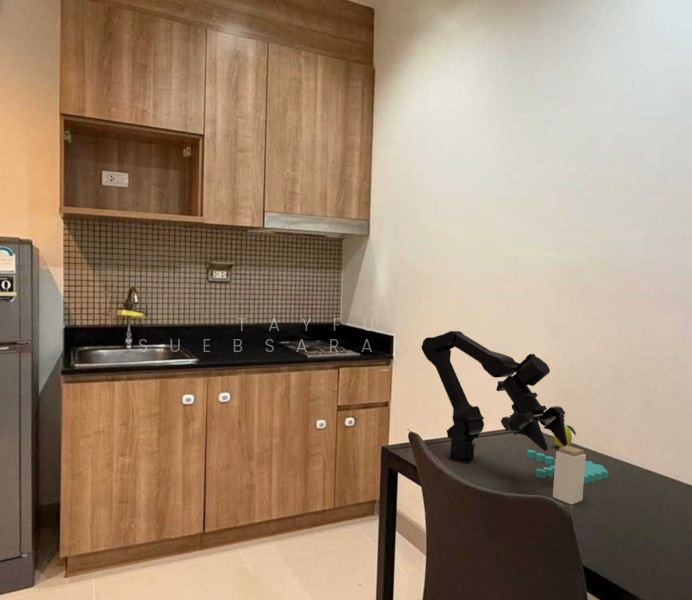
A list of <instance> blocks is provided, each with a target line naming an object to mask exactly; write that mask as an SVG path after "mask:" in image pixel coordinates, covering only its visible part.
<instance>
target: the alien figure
mask: <svg viewBox="0 0 692 600" xmlns="http://www.w3.org/2000/svg"><path fill="white" fill-rule="evenodd" d="M526 456H527V458H531V459H535V461H537V462H543V463H544V464H545V465H549V467H547V466H543V467H542V468H537V467H536V468H535V477H536V478H540V479H546V477H552V478H553V477H554V476H553V475H554V473H555V460H556V458H554V457H553V456H549V455H545V453H542V452H541V453H540V452H536V451H535V450H533V449H527V451H526ZM603 479H609V471H608V470H607V469H606V468H605V467H604V466H603V464H598V463H594V462H593V461H589V460H585V472H584V484H586V485H589V483H590V482H591V483H596V481H602V480H603Z"/></svg>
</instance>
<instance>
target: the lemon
mask: <svg viewBox="0 0 692 600" xmlns="http://www.w3.org/2000/svg"><path fill="white" fill-rule="evenodd" d="M564 422H565V418H564ZM565 432H566V438H567V443H568V444H567V445H566V446H570V445H571V444H572V439H573V436H572V434H573V435H575V436H577V433H576V431H575V429H574V427H572V426H570V425H567V424H565ZM553 442H554V443H555V445H556V446H558V447H559V448H561V447H565V446H563V445H562V444H561V442H560V441H559V440H558V439H557V438H556V436H555V435H554V434H553Z"/></svg>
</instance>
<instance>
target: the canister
mask: <svg viewBox="0 0 692 600" xmlns="http://www.w3.org/2000/svg"><path fill="white" fill-rule="evenodd" d="M586 457H587V454H585V452H584V450H583V449H581V448H577V447H573V446H570V445H569V446H565V447H561V448H560V447H559V448H558V451H557V450H556V452H555V459H556V460H555V473H554V474H553V475H554V476H553V477H554V478H553V489H552V498H553V499H557V500H559V501H562V502H564V503H566V504H570V505H574V504H577V503H579V502H582V501H583V496H584V484H585V483H584V472H585V461H586Z"/></svg>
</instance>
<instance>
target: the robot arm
mask: <svg viewBox="0 0 692 600" xmlns="http://www.w3.org/2000/svg"><path fill="white" fill-rule="evenodd" d="M454 348H457V349H458V350H459V351H461V352H463V353H464V354H466V355H467V356H469V357H470V358H472V359H474V360H475V361H477V362H478V363H479V364H480V365H481V367H482V369H483V370H485V372H486V373H488V375H490V376H491V377H492V378H494V379H495V378H496V379H497V378H505V379H503V380H500V381H499V380H498V381H497V386H496V391H497V392H503V391H504V392H506V394H507V396H508V397H509V399H510V400H511V403H513V404H512V405H510V406H511V409H512V411H513V413H512V414H510V415H509V416H503V417H502V418H501V419H500V424H501V425H502V426H503V428H504V430H505V431H506V432H509V431H510V433H512V434H513V435H514V436H516V435H522V436H526V437H527V438H529V439H530V440H531V441H532V442H533V443H535V444H536V445H537V446H538V447H539V448H540V449H541V450H543V451H544V452H546V451H548V449H549V448H548V444H547V442H546V441H547V440H546V439H545V436H544V434H543V431H542V428H541V427H540V426H541V425H542V426H543V429H545V430H548V431H550V432H551V433H552V434H553V436H554V435H555V436H556V438H557V439H558V440H559V441H560V442H561V444H562V445H563V446H566V445H567V444H568V443H567V438H566V432H565V427H566V425H565V421H564V419H565V415H566V411H565V410H564V409H563V407H562V406H557V405H556V406H551V407H549V408H548V409H547V406H546V405H541V403H540V402H539V400H538V399H537V397H539V394H538V393H537V392H535V391H534V392H533V391H532V390H531V389H530V387H529V386H531V387H534V386H535V385H537V384H538V383H540V381H542V380H543V379H544V378H545V377H547V375H549V374H550V373H551V369H550V367H549V365H548V364H547V363H546V362H545V361H544V360H542V359H541V358H540V357H539V356H538V357H537V355H536V354H535V353H529V354H527V356H526V357H525V359H523V360H522V361H521V362H517V361H515V359H514V358H513V357H512V356H509V355H506V354H503V353H500V352H496V351H494V350H490V349H488V348H487V347H485V346H484V345H482V344H480V343H479V342H477V341H476V340H473V339H472V338H471V337H469V336H467V335H465V334H464V333H463V332H462V331H459V330H449V331H448V332H445V333H443V334H440V335H437V336H433V337H429V336H428V337H426V338H424V339H423V341H422V344H421V350H422V353H423V354H424V356H425V358H426V360H428V361H429V362H430V363H431V364H432V365H433V366H434V367H435V369H436V372H437V373H438V377H439V378H440V381H441V383H442V386H443V388H444V390H445V392H446V395H447V397H448V400H449V402H450V405H451V407H452V409H453V410H452V422H453V424H452V426H450V427H449V428H448V429H447V430H446V433H447V434H446V435H447V438H448V439H451V440H450V454H449V456H448V460H453V461H454V460H455V461H458V462H463V463H466V464H467V463H468V464H470V463H471V462H472V461H474V459H475V458H476V449H477V447H476V446H477V444H476V443H475V439H478V438H479V437H480V435H481V433H482V432H483V430H484V427H485V422H484V419H485V417H484V416H483V415H482V413H481V410H480V407H479V406H478V405H475V406H473V405H471V403H470V402H469V401H468V398H467V395H466V394H465V392H464V389H463V387H462V385H461V382H460V380H459V378H458V375H457V373H456V371H455V368H454V367H453V364H452V362H451V355H452V351H451V350H452V349H454ZM540 424H541V425H540Z"/></svg>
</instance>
